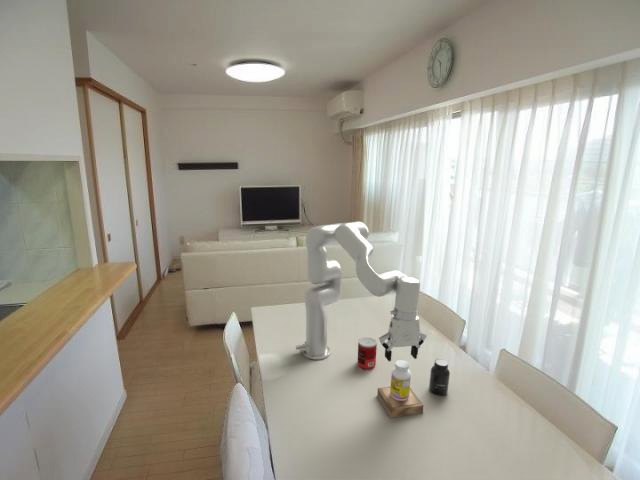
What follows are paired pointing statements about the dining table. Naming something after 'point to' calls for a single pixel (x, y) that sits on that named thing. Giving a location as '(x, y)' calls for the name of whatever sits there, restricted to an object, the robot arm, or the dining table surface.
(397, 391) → the supplement bottle
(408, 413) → the bronze plinth
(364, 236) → the robot arm
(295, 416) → the dining table surface
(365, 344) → the canned food
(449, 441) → the dining table surface
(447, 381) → the supplement bottle
